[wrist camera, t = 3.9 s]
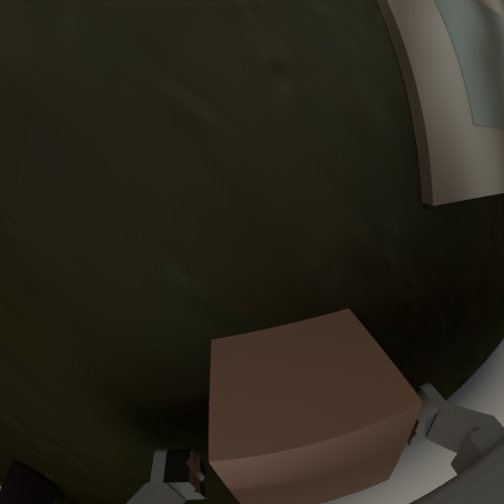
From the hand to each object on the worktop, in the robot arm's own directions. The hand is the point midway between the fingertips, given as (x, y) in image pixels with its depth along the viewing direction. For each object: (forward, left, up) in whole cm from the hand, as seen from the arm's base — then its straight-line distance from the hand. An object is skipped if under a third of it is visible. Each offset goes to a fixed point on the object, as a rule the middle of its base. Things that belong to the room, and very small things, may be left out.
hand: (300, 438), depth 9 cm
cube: (0, 0, -4) cm, 4 cm away
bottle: (+32, +16, -4) cm, 36 cm away
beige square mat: (-15, -15, -4) cm, 22 cm away
